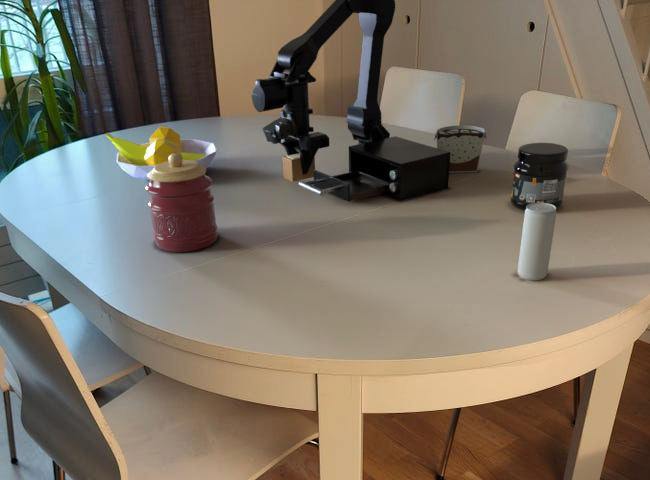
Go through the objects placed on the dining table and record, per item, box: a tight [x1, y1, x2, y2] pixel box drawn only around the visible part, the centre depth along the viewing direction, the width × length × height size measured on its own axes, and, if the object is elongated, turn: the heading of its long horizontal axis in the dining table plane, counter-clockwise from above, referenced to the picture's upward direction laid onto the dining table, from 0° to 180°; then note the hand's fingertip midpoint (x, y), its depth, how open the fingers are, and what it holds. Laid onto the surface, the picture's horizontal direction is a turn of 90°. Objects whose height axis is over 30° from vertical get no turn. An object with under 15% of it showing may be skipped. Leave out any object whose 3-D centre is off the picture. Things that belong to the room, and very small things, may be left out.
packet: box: [282, 153, 316, 183], centre depth 166 cm, size 4×6×5 cm
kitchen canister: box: [145, 153, 219, 253], centre depth 135 cm, size 13×13×18 cm
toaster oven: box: [348, 136, 450, 202], centre depth 160 cm, size 20×15×8 cm
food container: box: [433, 124, 487, 174], centre depth 168 cm, size 12×6×10 cm, turn 84°
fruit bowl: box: [105, 125, 218, 181], centre depth 179 cm, size 28×27×11 cm
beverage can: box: [517, 203, 557, 281], centre depth 113 cm, size 5×5×12 cm
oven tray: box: [298, 169, 390, 203], centre depth 156 cm, size 14×18×4 cm
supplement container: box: [510, 142, 569, 212], centre depth 142 cm, size 10×10×12 cm
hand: (300, 171), depth 167 cm, fingers closed on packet, 4 cm apart
